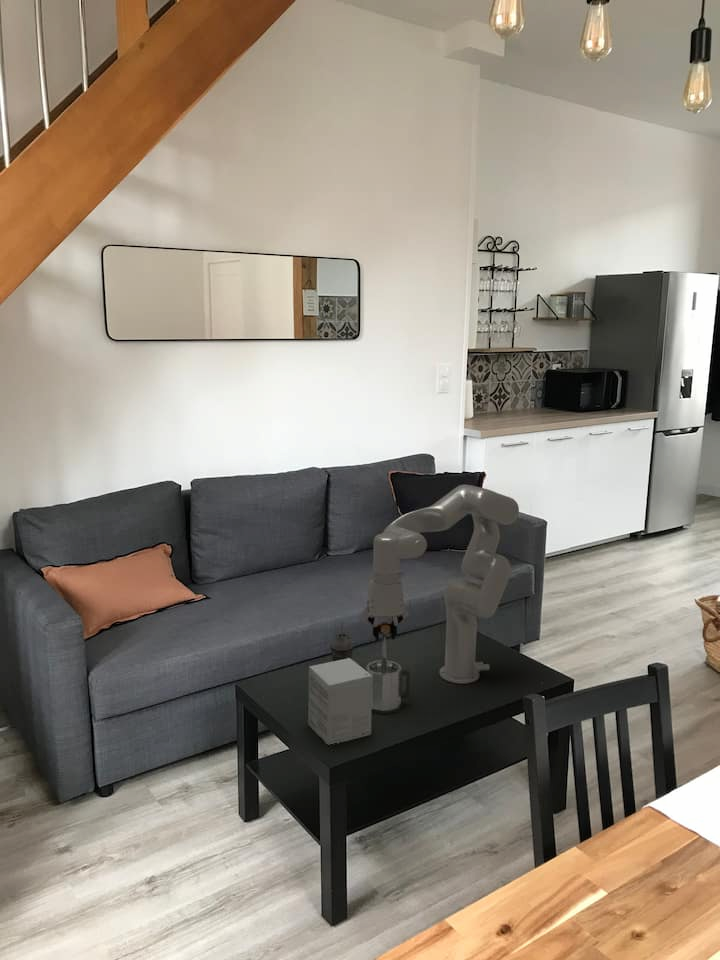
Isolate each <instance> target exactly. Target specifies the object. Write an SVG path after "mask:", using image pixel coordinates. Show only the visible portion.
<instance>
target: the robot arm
mask: <svg viewBox="0 0 720 960" xmlns="http://www.w3.org/2000/svg"><path fill="white" fill-rule="evenodd" d="M519 507H520V506H519V504H518V502H517V501H516V500H515V499H514V498H513V497H509V496H507V495H504V494H501V493H498V492H496V491H494V490H492V489H488V488H484V487H479V486H475V485H470V484H460V485H458V486H456V487H455V488H453V489H452V490H451V491H449V492H448V493H447V494H445V495H444V496H443V497H441V498H440V499H439V500H437V501H436V502H434V503H433V504H432V505H430V506H427V507H423V508H420V509H416V510H413V511H410V512H407V513H404V514H402V515H401V516H399V517H398V518H396V519H395V520H394V521H392V522H391V523H389V525H386V527H385V528H384V530H383V532H382V533H378V534H377V535H375V536H374V538H373V558H372V559H373V561H372V562H373V563H372V579H370V580H369V583H368V588H367V589H368V590H367V598H366V606H365V607H364V609H363V610H362V611H361V613H360V616H361V618H363V619H365V620H366V621H368V623H370V624H371V625H372V636H373V637H374V639H375V640H376V641H378V640H380V633H379V624H378V623H379V620H380V618H381V617H382V618H383V617H385V618H386V617H388V618H389V617H390V618H391V620H392V621H391V622H390V624H391V627H392V631H391V633H390V634H389V636H390V637H391V639H392V640H395V639H396V636H397V632H398V626H399V624H400V623H401V622H402V621H403V620H405V618H407V617H409V616H410V612H409V610H408V609H407V608H406V606H405V604H404V591H403V584H402V580H401V578H405V572H401V571H400V568H401V566H400V565H401V560H402V559H416V558H419V557H421V556H423V554H424V553H425V552H426V550H427V547H428V542H427V539H426V538H425V536H424V535H422V534H421V533H427V532H428V533H432V532H433V533H434V532H442V531H446V530H448V529H450V528H452V527H453V526H454V525H456V524H457V523H458V522H459V521H460V520H462V519H463V518H465V517H466V516H467V515H471V517H472V521H473V533H472V535H471V539H470V540H469V544H468V546H467V548H466V551H465V554H464V555H463V558H462V561H461V567H460V568H461V572H462V573H463V574H464V575H466V576H467V577H469V578H470V579H471V578H472V579H473V580H474V579H475V580H477V581H479V582H482V584H477V583H475V582H472V581H469V580H466V579H461V578H456V579H452V580H450V581H449V582H448V583H447V585H446V587H445V589H444V604H445V610H446V626H445V627H446V629H445V648H444V649H445V650H444V651H445V653H444V665H443V666H442V667H441V668H439V676H440V677H441V678H442V679H443V680H445V681H446V682H450V683H453V684H465V685H466V684H470V683H474V682H476V681H477V680H479V678H480V672H481V671H490V670H491V669H490V664H489V663H487V664H486V663H485V664H484V661H478V662H477V661H476V650H477V649H476V648H477V630H478V628H477V627H478V623H477V618H479V619H483V620H486V619H489V618H492V616H493V615H494V614H495V613H496V610H497V608H498V607H499V604H500V602H501V599H502V598H503V594H504V592H505V589H506V587H507V584H508V581H509V579H510V575H511V564H510V561H509V560H508V558H506V557H505V556H503V555H502V554H499V553H496V551H497V549H498V546H499V543H500V539H501V537H500V529H499V526H498V524H500V525H507V526H508V525H511V524H513V523H514V522H515V521H516V520H517V519H518V517H519V513H520V511H519V510H520V508H519Z"/></svg>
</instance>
